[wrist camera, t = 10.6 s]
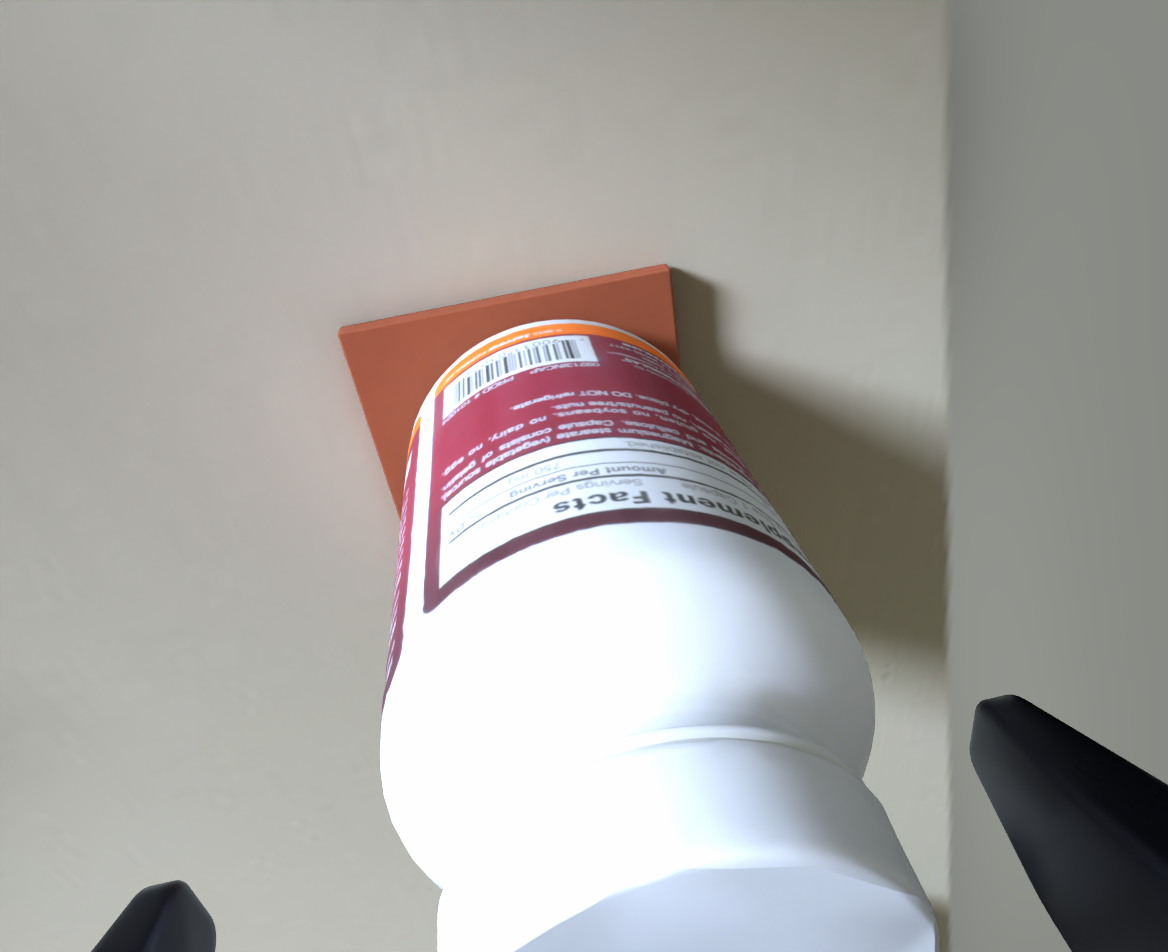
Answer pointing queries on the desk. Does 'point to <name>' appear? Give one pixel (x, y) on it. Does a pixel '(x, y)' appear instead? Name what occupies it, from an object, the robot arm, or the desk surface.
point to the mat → (441, 336)
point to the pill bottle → (623, 677)
